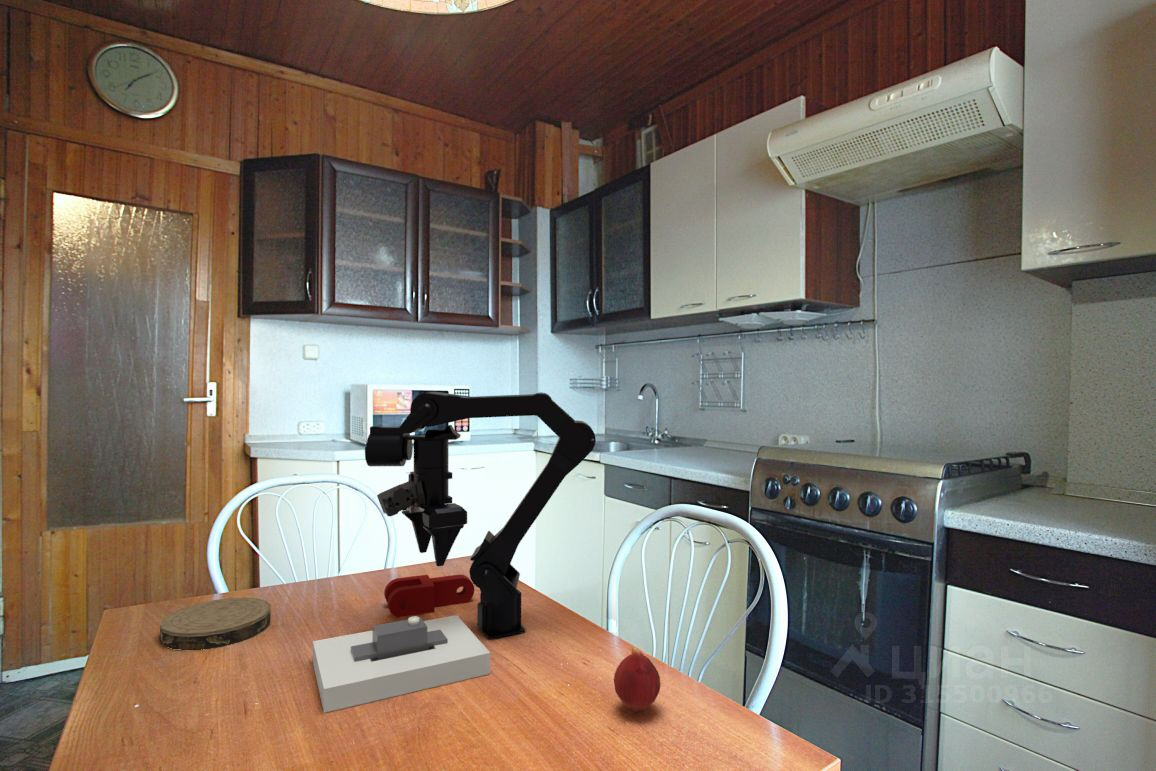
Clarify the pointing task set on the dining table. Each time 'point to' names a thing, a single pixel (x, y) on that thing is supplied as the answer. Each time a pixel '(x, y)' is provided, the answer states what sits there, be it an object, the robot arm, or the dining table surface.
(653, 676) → the onion
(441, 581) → the mechanical linkage
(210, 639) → the wood slice
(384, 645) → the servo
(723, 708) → the dining table surface
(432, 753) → the dining table surface
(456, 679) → the frame
